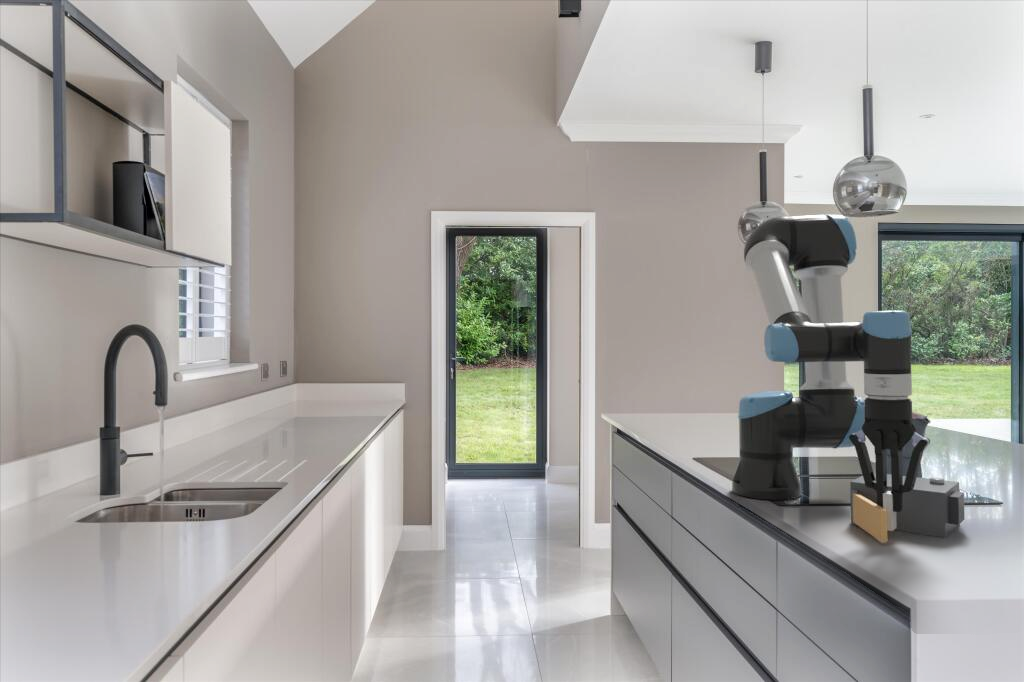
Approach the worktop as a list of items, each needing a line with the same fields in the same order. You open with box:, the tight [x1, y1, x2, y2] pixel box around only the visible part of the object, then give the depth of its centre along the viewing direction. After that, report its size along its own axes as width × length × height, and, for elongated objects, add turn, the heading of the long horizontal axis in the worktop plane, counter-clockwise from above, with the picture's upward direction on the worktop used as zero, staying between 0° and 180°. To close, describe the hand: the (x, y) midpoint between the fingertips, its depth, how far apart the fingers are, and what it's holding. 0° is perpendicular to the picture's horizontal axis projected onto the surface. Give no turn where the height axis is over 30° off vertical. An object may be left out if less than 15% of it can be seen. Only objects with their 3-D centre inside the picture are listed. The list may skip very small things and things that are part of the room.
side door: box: [851, 490, 888, 543], centre depth 131 cm, size 14×1×6 cm, turn 174°
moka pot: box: [887, 411, 931, 478], centre depth 168 cm, size 10×15×20 cm, turn 28°
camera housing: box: [849, 472, 965, 539], centre depth 137 cm, size 18×12×9 cm
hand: (890, 528), depth 128 cm, fingers closed
